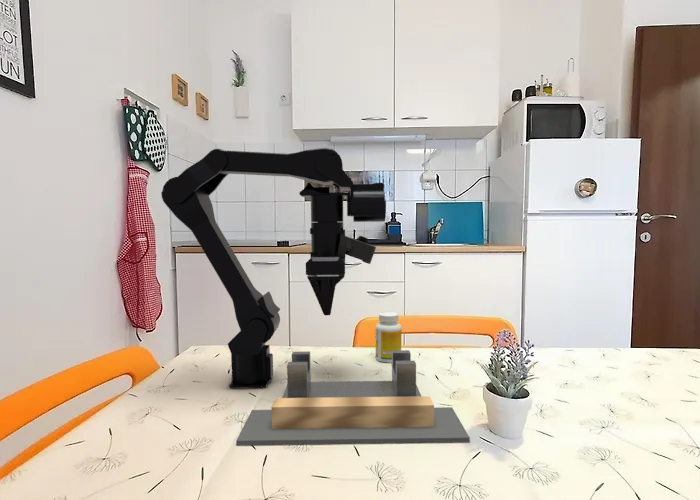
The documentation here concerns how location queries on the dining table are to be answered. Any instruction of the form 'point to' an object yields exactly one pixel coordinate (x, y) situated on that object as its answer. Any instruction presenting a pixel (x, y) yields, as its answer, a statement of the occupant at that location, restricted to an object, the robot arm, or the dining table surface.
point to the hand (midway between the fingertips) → (328, 309)
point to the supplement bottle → (387, 336)
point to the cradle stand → (398, 387)
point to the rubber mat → (352, 432)
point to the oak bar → (352, 412)
